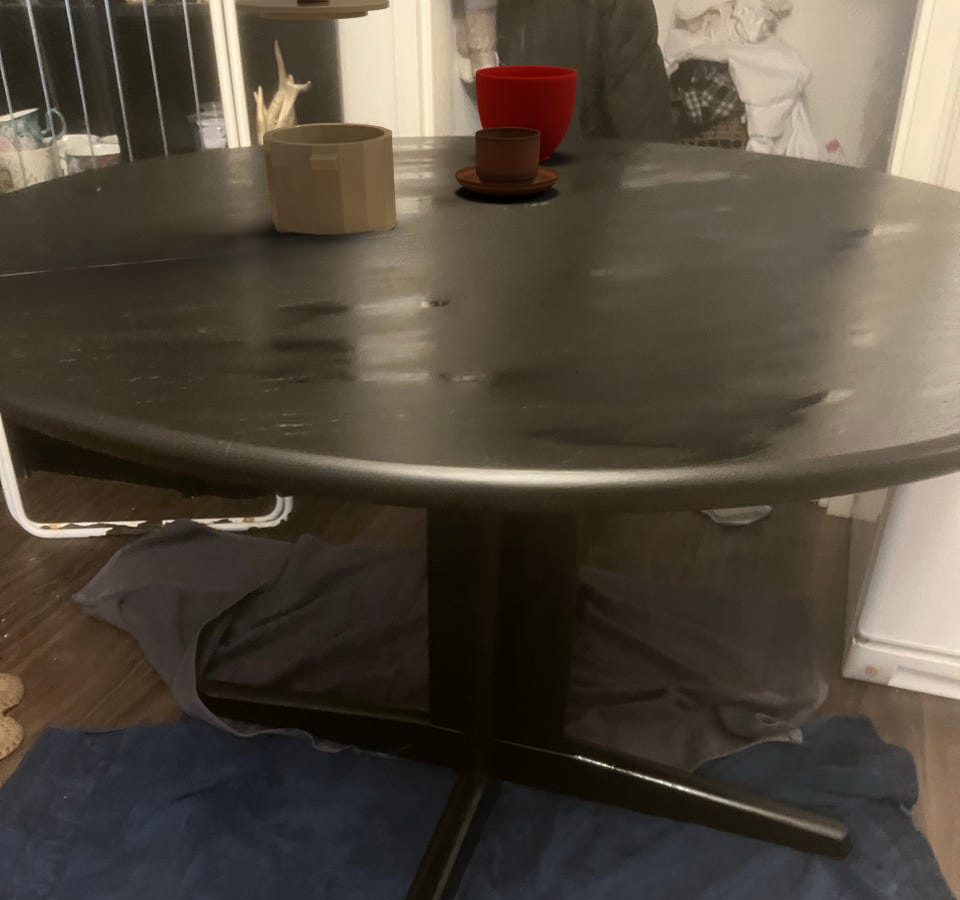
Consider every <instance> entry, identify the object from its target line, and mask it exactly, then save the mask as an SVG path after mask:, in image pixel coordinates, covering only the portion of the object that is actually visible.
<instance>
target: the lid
mask: <svg viewBox="0 0 960 900" xmlns="http://www.w3.org/2000/svg"><path fill="white" fill-rule="evenodd" d="M389 8H390V0H239V1H236V2H235V9H236V11H239V12H246V13H255V14H256V13H257V14H259V18H262V19H267V20H281V21H282V20H283V21H321V20H322V21H326V20H327V21H329V20H346V19H347V20H348V19H359V18H364V17H368V15H369V12H372V11H380V10H382V11H383V10H386V9H389Z"/></svg>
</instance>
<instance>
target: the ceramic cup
mask: <svg viewBox="0 0 960 900" xmlns="http://www.w3.org/2000/svg"><path fill="white" fill-rule="evenodd" d="M577 85H578V71H577V70H576V69H573V68H568V67H562V66H552V65H551V66H550V65H500V66H489V67H483V68H480V69H477V70H476V71H475V95H476V102H477V104H476V105H477V111H478V112H477V113H478V117H479V122H480V125H481V128H482V129H487V128H498V127H517V128H528V129H533V130H537V131H539V132H540V150H539V162H544V161H547V160H549V159H550V157H551V155H552V154H553V153H554V152H555V151H556V149H558V147H559V146H560V144H561V143H562V141H563V140H564V138H565V136H566V134H567V132H568V130H569V127H570V124H571V121H572V117H573V114H574V108H575V102H576V94H577V87H578V86H577Z"/></svg>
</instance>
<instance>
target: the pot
mask: <svg viewBox="0 0 960 900" xmlns="http://www.w3.org/2000/svg"><path fill="white" fill-rule="evenodd" d="M393 138H394V137H393V130H391V129H389V128H386V127H384V126H382V125H381V126H380V125H376V124H375V125H374V124H367V123H356V122H355V123H354V122H319V123H318V122H316V123H305V124H295V125H290V126H289V125H288V126H283V127H276V128H274V129H271V130H268V131H265V132H264V133H263V135H262V144H263V145H262V146H263V152H264V153H263V154H264V160H265V161H264V162H265V169H266V177H267V178H266V179H267V185H268V194H269V202H270V204H269V205H270V211H271V218H272V219H271V220H272V224H273V227H274V230H275V231H277V232H278V233H295V234H296V233H298V234H306V235H317V236H318V235H320V236H321V235H324V236H325V235H350V234H359V233H367V232H371V231H373V232H374V231H376V232H377V231H378V232H381V231H391V230H392V229H394V228H395V227H396V226H397V198H396V180H395V160H394V158H395V157H394V141H393Z"/></svg>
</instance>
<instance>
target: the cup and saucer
mask: <svg viewBox="0 0 960 900" xmlns="http://www.w3.org/2000/svg"><path fill="white" fill-rule="evenodd" d="M474 143H475V145H474V146H475V148H474V149H475V150H474V151H475V165H471V166H466V167H463V168H460V169H458V170H457V171H455V173H454V176H455V180H456V181H457V182H458V183H459V185H460V186H461V187H463V188H464V189H466V190H469V191H471V192H473V193H477V194H482V195H488V196H496V197H518V196H528V195H533V194H537V193H542V192H544V191H546V190H549V189H550V188H552V187H553V186H554V185H555V184H556V183H557V182H558V181H559V179H560V178H559V177H560V172H559V171H558V170H556V169H554V168H551V167H548V166H543V165H540V161H539V150H540V132H539V131H537V130H533V129H528V128H517V127H498V128H487V129H483V128H482V129H478V130H476V131H475V133H474Z"/></svg>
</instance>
